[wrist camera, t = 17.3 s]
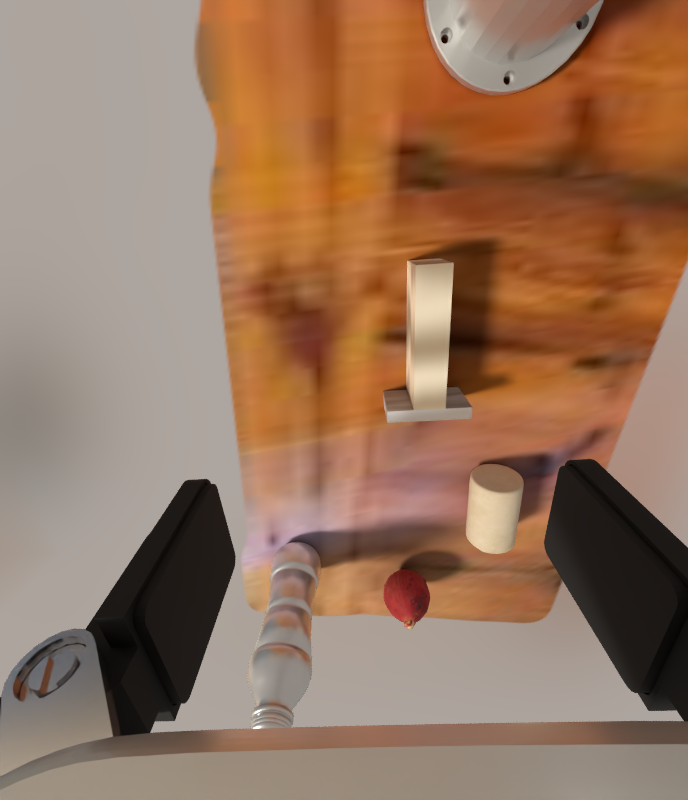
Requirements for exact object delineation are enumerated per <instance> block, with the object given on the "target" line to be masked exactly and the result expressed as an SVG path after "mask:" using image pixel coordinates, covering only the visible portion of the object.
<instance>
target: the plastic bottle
mask: <svg viewBox="0 0 688 800" xmlns="http://www.w3.org/2000/svg"><path fill="white" fill-rule="evenodd" d="M320 575H321V564H320V557H319V555H318V554H317V552H316V551H315V549H314V548H313V547H311V546H310V545H308V544H306V543H303V542H291V543H288V544H286V545H284V546H283V547H282V548H280V549H279V550H278V551H277V553H276V555H275V557H274V559H273V562H272V565H271V575H270V583H271V585H270V592H269V600H268V607H267V610H266V614H265V618H264V621H263V625H262V629H261V632H260V635H259V638H258V641H257V643H256V646H255V649H254V651H253V654H252V657H251V659H250V663H249V666H248V683H249V687H250V691H251V694H252V697H253V699H254V702H255V704H256V708H254V710H253V711H252V716H251V726H250V729H257V728H291V726H292V725H293V718H294V715H293V713H292V709H293V708H294V707H295V706H296V705H297V703H298V702H299V701H300V699H301V698H302V696H303V695H304V693H305V692H306V690H307V688H308V685H309V682H310V680H311V675H312V656H311V620H312V609H313V604H314V598H315V593H316V589H317V586H318V583H319V579H320Z"/></svg>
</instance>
